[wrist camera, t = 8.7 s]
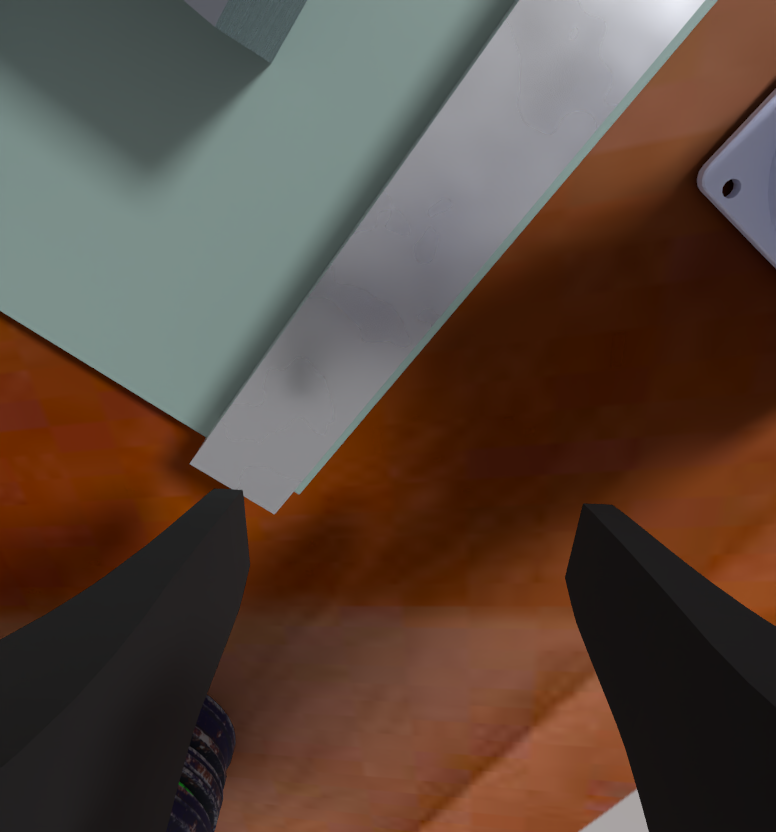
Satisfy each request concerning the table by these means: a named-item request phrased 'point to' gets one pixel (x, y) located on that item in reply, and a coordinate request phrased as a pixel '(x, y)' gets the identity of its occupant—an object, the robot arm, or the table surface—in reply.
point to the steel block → (252, 21)
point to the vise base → (211, 174)
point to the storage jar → (204, 772)
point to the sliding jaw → (434, 228)
